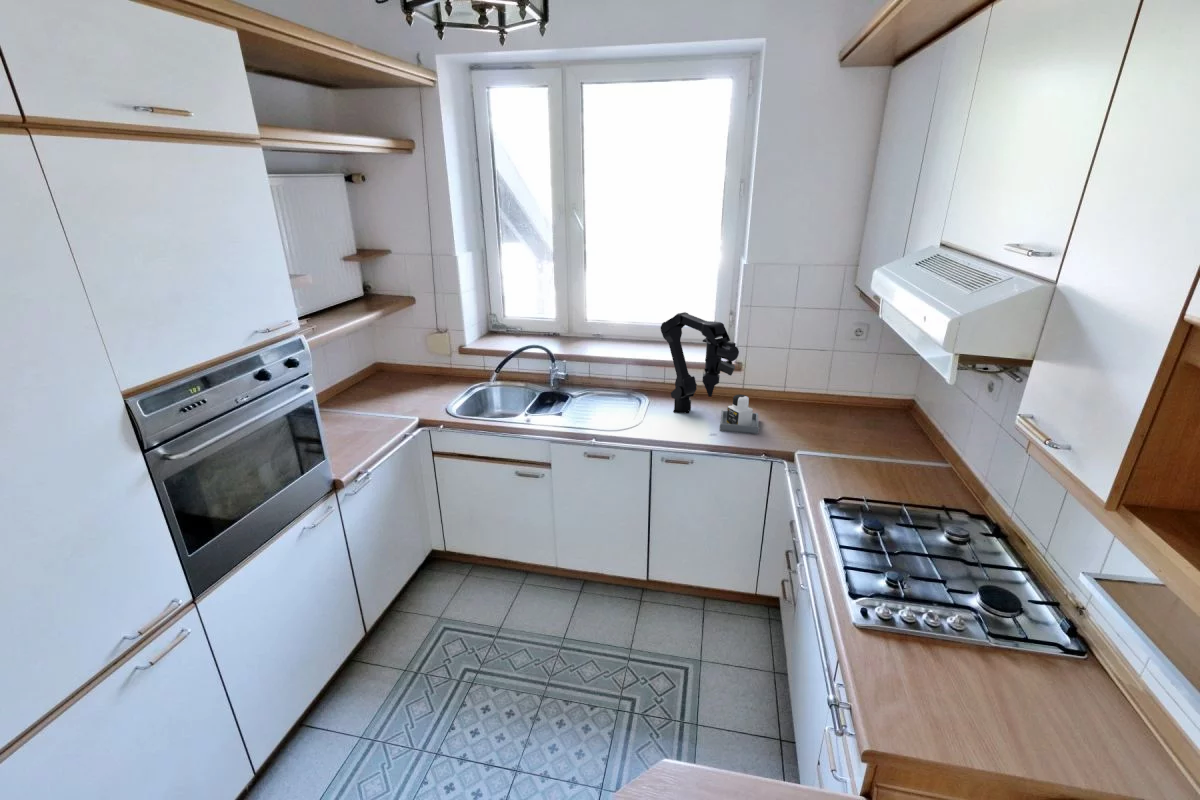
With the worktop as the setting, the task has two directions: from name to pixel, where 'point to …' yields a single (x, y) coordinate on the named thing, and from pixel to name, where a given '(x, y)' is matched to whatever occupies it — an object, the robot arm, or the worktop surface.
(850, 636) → the worktop surface
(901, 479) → the worktop surface
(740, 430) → the bin
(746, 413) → the medicine bottle
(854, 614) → the worktop surface
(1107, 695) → the worktop surface
